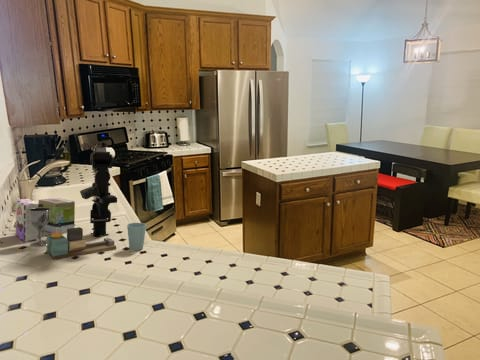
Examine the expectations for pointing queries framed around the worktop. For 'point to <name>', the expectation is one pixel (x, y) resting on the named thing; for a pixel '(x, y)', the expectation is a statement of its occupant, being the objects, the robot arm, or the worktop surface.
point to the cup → (136, 235)
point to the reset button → (57, 235)
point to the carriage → (75, 239)
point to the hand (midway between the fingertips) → (101, 216)
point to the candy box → (25, 220)
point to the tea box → (59, 214)
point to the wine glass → (39, 221)
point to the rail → (59, 250)
